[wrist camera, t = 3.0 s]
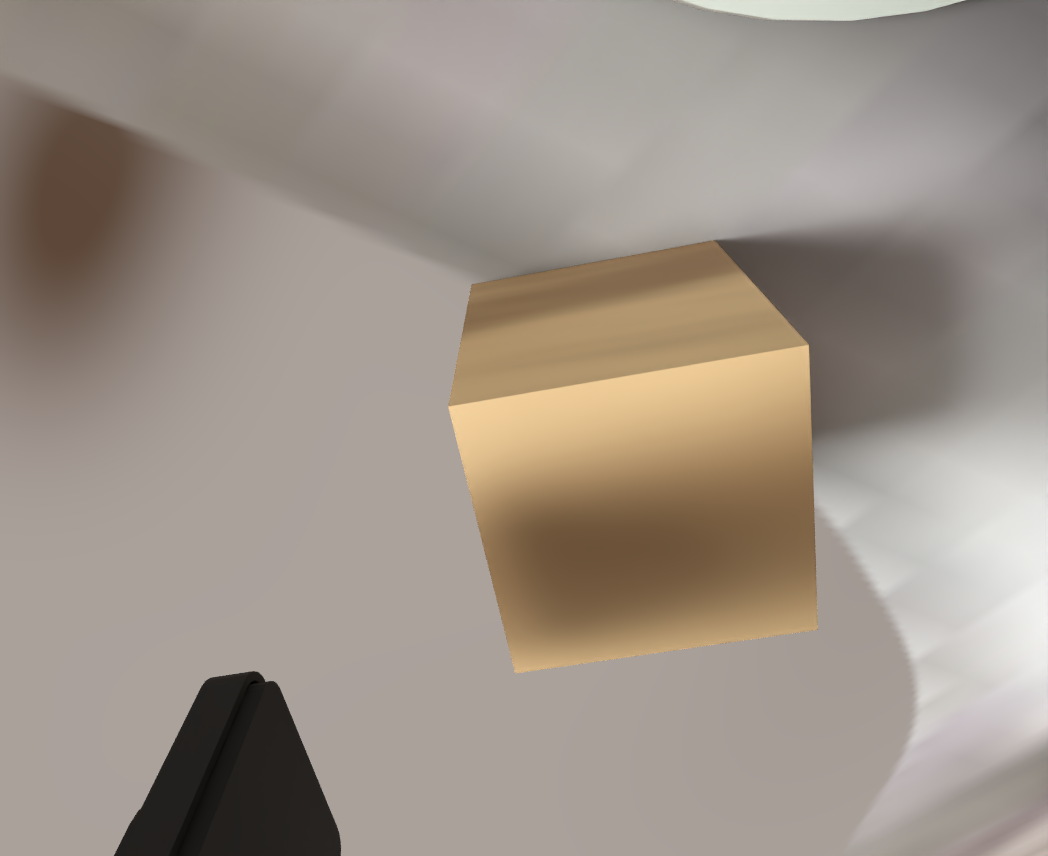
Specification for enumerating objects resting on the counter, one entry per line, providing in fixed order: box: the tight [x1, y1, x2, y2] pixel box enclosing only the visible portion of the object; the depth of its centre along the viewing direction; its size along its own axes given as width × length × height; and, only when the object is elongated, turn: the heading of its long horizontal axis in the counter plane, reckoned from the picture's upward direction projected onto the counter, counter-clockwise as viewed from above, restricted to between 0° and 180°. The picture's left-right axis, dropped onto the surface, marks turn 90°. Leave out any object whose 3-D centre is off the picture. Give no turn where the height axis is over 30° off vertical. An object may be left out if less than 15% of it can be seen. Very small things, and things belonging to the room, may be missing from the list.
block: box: [448, 240, 818, 673], centre depth 15 cm, size 5×5×6 cm
